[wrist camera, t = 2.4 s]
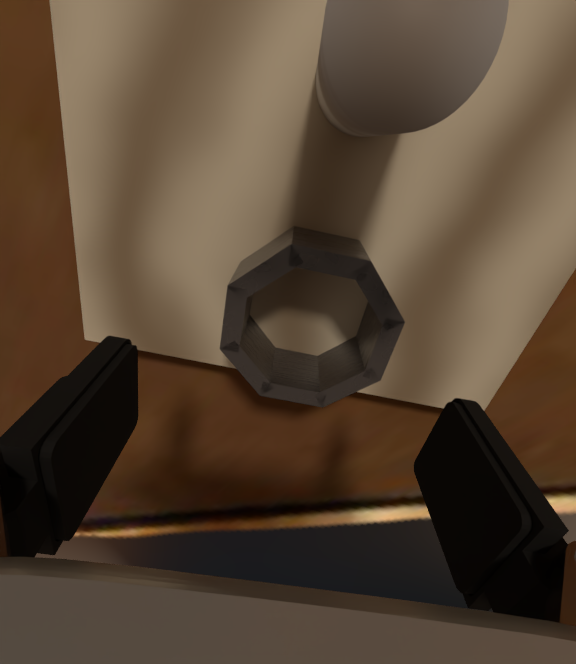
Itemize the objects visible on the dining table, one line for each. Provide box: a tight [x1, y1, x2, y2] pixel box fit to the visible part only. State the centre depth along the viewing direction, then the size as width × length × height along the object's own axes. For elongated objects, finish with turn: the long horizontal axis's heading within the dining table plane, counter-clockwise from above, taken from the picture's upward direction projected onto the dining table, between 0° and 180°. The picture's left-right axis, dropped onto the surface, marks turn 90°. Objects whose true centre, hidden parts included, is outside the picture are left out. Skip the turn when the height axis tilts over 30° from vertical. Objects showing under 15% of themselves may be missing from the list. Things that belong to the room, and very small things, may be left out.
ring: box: [220, 226, 405, 407], centre depth 15 cm, size 7×7×3 cm
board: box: [50, 0, 576, 410], centre depth 12 cm, size 22×18×8 cm
